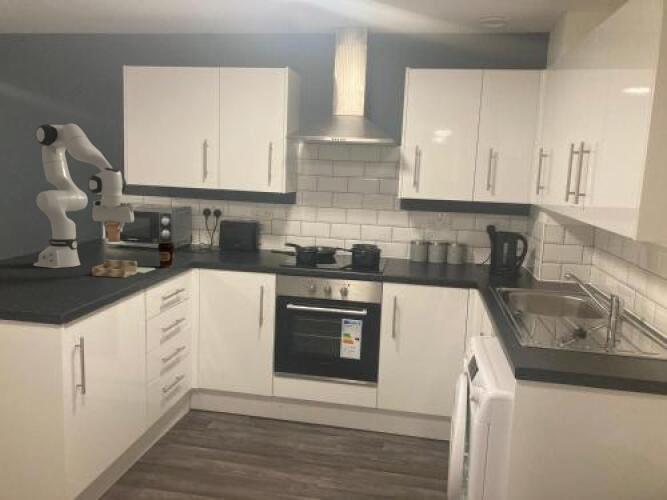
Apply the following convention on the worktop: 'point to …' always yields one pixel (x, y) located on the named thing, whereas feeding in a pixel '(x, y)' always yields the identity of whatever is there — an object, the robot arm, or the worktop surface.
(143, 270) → the mat
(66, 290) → the worktop surface
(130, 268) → the wooden compartment tray
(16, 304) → the worktop surface
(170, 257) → the dark brown jar
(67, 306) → the worktop surface
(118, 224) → the pot
